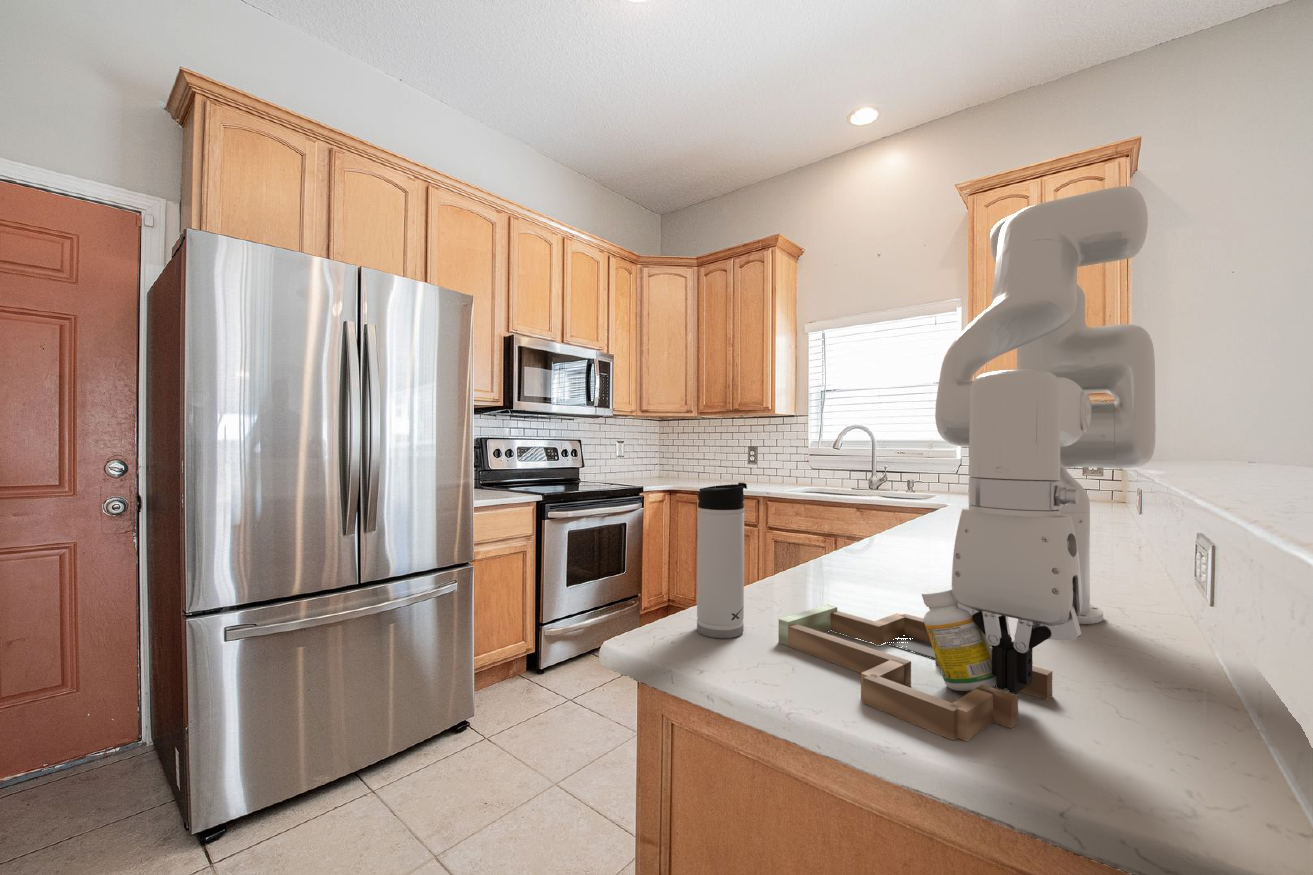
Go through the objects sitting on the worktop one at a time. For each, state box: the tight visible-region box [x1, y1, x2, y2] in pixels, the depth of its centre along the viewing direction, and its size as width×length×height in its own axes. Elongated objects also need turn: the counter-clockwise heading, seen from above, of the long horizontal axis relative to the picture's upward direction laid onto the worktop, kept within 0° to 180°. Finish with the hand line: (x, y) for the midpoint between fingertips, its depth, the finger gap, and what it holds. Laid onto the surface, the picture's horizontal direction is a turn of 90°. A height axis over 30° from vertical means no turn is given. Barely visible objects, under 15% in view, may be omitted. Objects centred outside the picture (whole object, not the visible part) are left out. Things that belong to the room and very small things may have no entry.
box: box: [778, 604, 1053, 742], centre depth 63 cm, size 23×26×3 cm
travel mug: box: [696, 482, 748, 640], centre depth 75 cm, size 6×7×20 cm
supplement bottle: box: [921, 585, 996, 692], centre depth 58 cm, size 5×5×10 cm
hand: (1011, 687), depth 54 cm, fingers closed
